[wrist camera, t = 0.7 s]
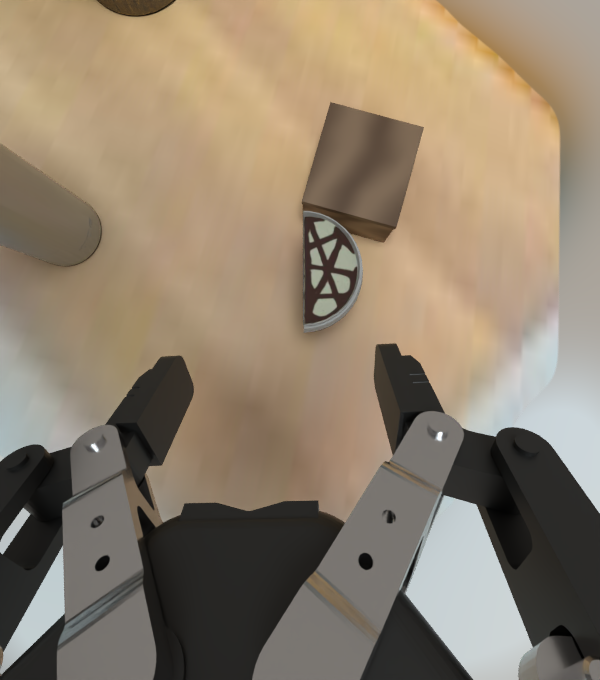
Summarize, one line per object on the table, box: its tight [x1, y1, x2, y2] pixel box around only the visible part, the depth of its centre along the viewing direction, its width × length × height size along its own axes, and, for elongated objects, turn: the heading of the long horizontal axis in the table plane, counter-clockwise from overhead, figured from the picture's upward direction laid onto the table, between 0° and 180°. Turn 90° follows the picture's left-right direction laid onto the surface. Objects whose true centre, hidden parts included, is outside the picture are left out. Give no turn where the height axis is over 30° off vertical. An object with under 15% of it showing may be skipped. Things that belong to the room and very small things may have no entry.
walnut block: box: [302, 103, 424, 242], centre depth 37 cm, size 11×12×5 cm
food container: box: [303, 211, 363, 333], centre depth 34 cm, size 12×6×10 cm, turn 0°
